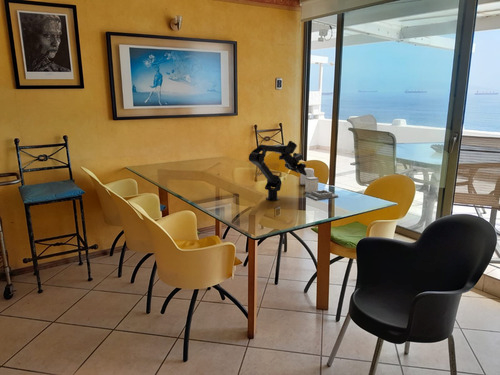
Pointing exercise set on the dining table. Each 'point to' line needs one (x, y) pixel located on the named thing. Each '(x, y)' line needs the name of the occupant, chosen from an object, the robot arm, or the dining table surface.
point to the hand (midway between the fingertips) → (302, 173)
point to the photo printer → (309, 174)
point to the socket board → (321, 195)
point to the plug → (311, 184)
